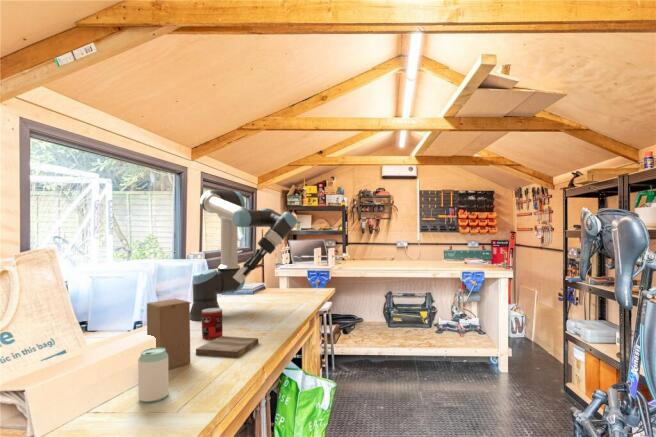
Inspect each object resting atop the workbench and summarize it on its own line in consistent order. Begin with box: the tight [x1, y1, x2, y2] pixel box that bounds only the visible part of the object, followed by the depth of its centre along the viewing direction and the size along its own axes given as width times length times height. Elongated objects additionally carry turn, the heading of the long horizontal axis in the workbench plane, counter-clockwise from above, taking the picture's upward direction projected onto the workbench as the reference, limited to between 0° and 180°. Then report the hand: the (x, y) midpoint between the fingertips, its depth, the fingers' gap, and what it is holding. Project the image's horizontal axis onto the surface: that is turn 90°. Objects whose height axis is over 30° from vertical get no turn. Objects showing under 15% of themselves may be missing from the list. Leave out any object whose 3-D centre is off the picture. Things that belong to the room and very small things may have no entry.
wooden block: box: [146, 298, 191, 370], centre depth 121 cm, size 10×10×20 cm
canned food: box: [201, 308, 224, 340], centre depth 152 cm, size 8×8×11 cm
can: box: [137, 348, 170, 404], centre depth 96 cm, size 7×7×12 cm
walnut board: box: [195, 335, 259, 359], centre depth 135 cm, size 16×16×2 cm
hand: (236, 280), depth 156 cm, fingers open, 13 cm apart
